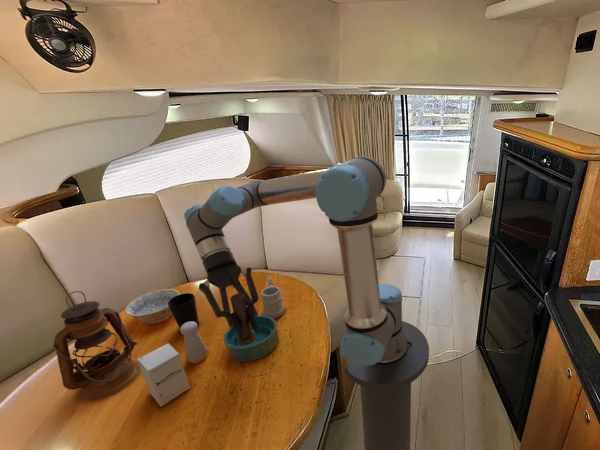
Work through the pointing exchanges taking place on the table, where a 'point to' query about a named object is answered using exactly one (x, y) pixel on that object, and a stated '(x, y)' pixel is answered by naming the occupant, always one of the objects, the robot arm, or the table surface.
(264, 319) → the teal bowl
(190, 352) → the salt shaker
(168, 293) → the bowl
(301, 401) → the table surface
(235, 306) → the walnut stirrer
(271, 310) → the mug
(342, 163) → the robot arm
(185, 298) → the cup
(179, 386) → the white packaging box
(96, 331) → the lantern
